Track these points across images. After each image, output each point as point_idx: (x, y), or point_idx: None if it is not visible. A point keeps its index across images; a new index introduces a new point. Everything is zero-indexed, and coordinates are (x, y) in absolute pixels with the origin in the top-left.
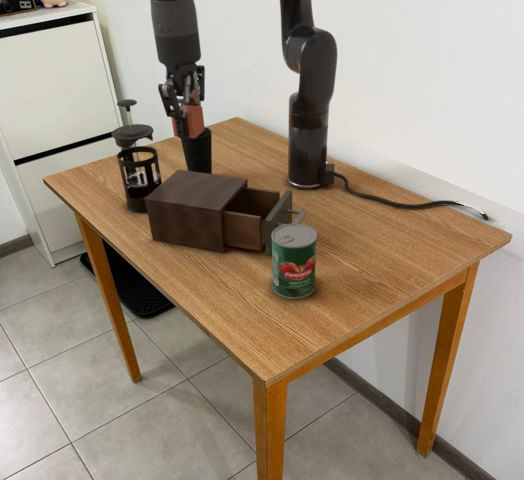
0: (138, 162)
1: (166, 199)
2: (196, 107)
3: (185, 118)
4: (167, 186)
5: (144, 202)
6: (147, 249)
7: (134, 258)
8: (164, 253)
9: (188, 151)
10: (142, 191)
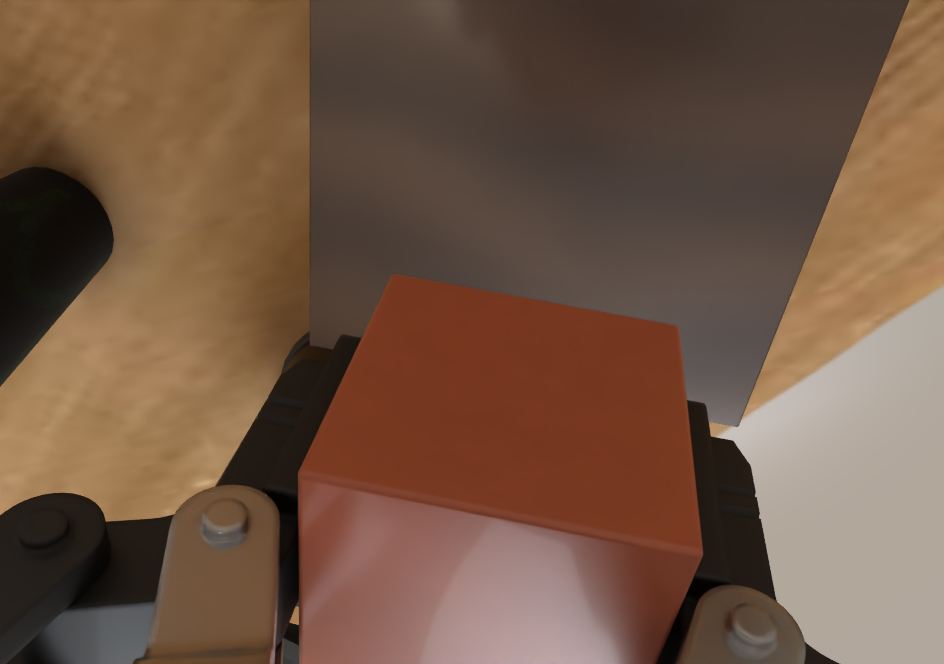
0: None
1: (749, 308)
2: (378, 537)
3: (729, 581)
4: None
5: None
6: (800, 283)
7: (886, 316)
8: (844, 193)
9: (15, 349)
10: None
